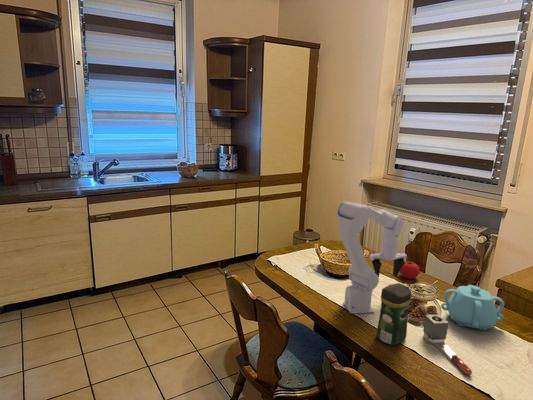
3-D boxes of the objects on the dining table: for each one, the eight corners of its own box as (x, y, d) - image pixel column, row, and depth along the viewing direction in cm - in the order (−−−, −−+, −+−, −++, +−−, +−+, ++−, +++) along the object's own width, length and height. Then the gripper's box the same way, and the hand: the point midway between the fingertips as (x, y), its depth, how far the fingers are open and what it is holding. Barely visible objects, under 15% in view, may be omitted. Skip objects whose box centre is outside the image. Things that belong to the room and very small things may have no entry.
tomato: (394, 276, 169) (396, 260, 167) (404, 271, 175) (406, 256, 173) (412, 283, 163) (414, 266, 161) (421, 278, 168) (424, 262, 167)
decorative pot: (468, 307, 144) (474, 275, 141) (506, 330, 129) (513, 295, 126) (435, 313, 139) (440, 279, 136) (470, 337, 124) (477, 300, 121)
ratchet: (419, 334, 124) (421, 322, 123) (437, 333, 125) (438, 321, 124) (459, 377, 104) (462, 364, 103) (479, 376, 105) (482, 363, 104)
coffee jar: (388, 327, 128) (395, 278, 123) (409, 339, 121) (416, 287, 117) (371, 336, 122) (377, 285, 118) (392, 349, 116) (399, 295, 111)
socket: (431, 339, 119) (434, 323, 117) (423, 330, 123) (425, 314, 122) (445, 339, 119) (448, 322, 118) (436, 330, 124) (439, 314, 123)
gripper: (376, 248, 139) (372, 281, 142) (412, 247, 140) (407, 280, 144) (369, 241, 145) (365, 273, 148) (403, 241, 147) (399, 272, 150)
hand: (385, 276), depth 146 cm, fingers open, 7 cm apart
